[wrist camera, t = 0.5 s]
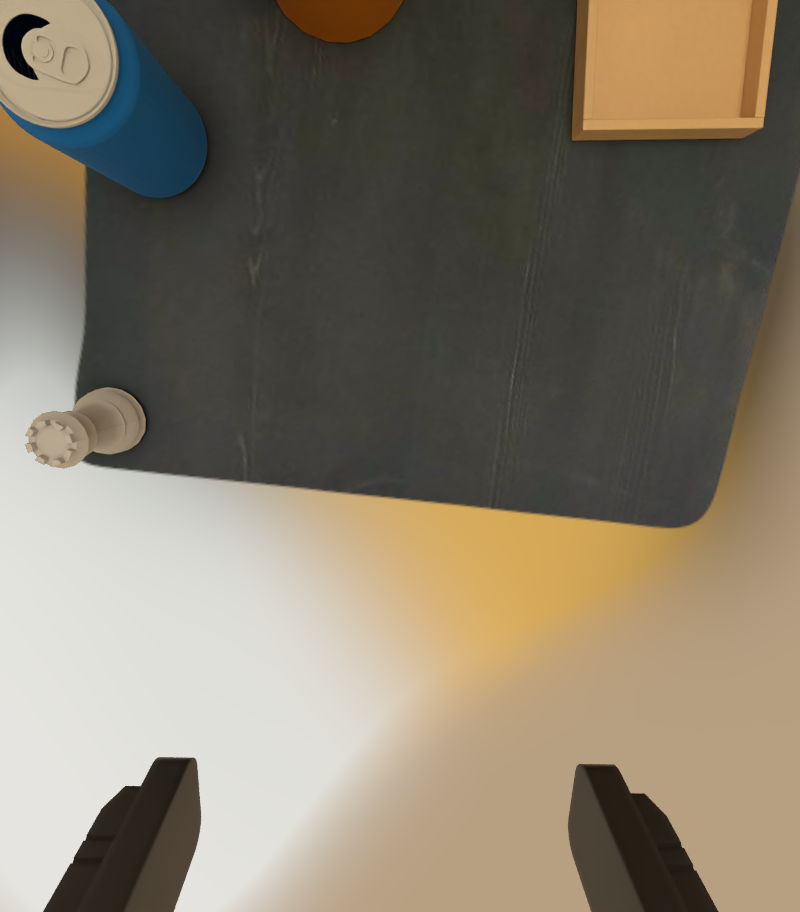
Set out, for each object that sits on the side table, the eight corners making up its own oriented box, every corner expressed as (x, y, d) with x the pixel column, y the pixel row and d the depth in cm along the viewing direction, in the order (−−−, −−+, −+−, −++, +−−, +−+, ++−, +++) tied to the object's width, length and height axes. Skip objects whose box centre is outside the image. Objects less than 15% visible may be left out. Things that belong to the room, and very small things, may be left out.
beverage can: (117, 67, 33) (-23, -74, 21) (223, 110, 34) (144, -3, 22) (93, 177, 34) (-52, 102, 23) (195, 216, 35) (106, 163, 23)
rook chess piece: (144, 385, 37) (84, 401, 30) (152, 449, 38) (96, 481, 31) (77, 387, 37) (-2, 403, 29) (86, 451, 38) (14, 484, 30)
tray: (581, -111, 32) (595, -139, 30) (768, -109, 32) (793, -137, 31) (571, 140, 35) (582, 130, 33) (742, 138, 36) (763, 127, 34)
